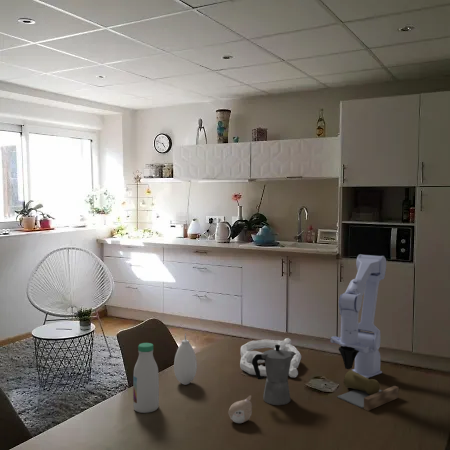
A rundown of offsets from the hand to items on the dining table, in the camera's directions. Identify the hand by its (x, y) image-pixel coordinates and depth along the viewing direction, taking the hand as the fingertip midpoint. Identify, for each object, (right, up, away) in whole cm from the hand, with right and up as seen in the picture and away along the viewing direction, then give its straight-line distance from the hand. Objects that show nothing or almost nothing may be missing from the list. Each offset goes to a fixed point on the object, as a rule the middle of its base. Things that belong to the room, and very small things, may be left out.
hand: (348, 368), depth 162 cm
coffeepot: (-26, -8, -8) cm, 29 cm away
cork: (+1, -4, +2) cm, 5 cm away
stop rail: (+8, -8, -10) cm, 15 cm away
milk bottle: (-66, -8, -14) cm, 68 cm away
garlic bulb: (-38, -9, -23) cm, 45 cm away
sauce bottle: (-56, -7, +5) cm, 56 cm away
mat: (+4, -8, -5) cm, 10 cm away
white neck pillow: (-24, -6, +23) cm, 34 cm away
